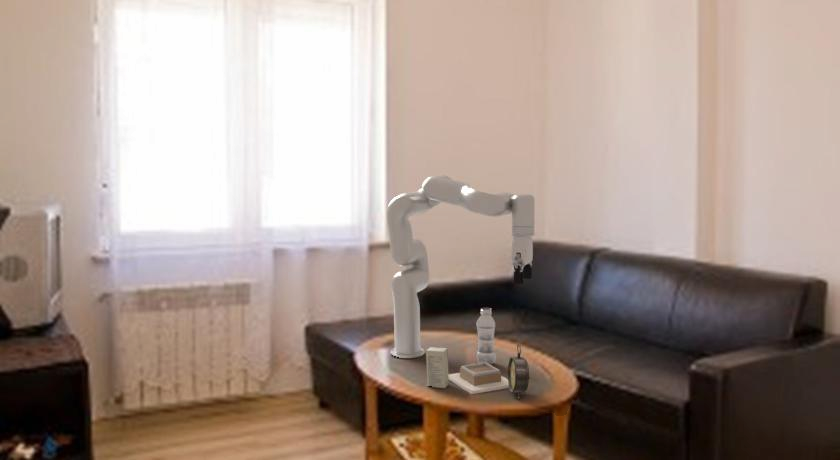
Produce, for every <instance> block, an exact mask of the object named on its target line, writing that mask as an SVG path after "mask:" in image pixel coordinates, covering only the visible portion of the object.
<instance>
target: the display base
mask: <svg viewBox="0 0 840 460" xmlns="http://www.w3.org/2000/svg"><path fill="white" fill-rule="evenodd" d="M448 375H449V381H451V382H452V383H454V384H455V385H457V386H458V387H459V388H461V389H463V390H464V391H465V392H468V393H469V394H470V395H475V394H476V395H477V394H480V393H481V394H482V393H486V392H492V391H493V392H494V391H499V390H505V389H506V390H507V389H509V384H508V378H506V377H505V376H503V375H502V372H501V370H500V369H499V368H497V367H494V365H493V364H492V365H490V364H488V363H486V362H484V363H478V362H477V363H471V364H467V365H465V364H464V365H461V367H460V368H459V372H456V373H448Z"/></svg>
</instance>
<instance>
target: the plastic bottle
mask: <svg viewBox="0 0 840 460" xmlns="http://www.w3.org/2000/svg"><path fill="white" fill-rule="evenodd" d="M479 314H480V316H479V318H478V319H477V320H476V330H477V337H478V338H477V339H478V340H477V341H478V344H477V352H476V361H477V364H478V363H484V362H486V363H488V364H490V365H492V366H493V365H494V364H495V363H496V357H497V356H496V355H497V354H496V351H495V342H494V341H495V340H494V339H495V330H496V322H495V320H494V318H493V316H492V308H490V307H481V308H480V313H479Z"/></svg>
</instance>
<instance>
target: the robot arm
mask: <svg viewBox="0 0 840 460" xmlns="http://www.w3.org/2000/svg"><path fill="white" fill-rule="evenodd" d="M441 203H443V204H447V205H452V206H456V207H459V208H462V209H464V210H466V211H469V212H471V213H473V214H474V213H475V214H479V215H483V216H487V217H493V218H497V217H502V216H506V215H511V236H513V237H512V243H511V259H510V262H511V265H512V266H513V284H517V285H523V284H524V280H525V279H526V280H527V279H528V280H531V279H532V278H533V264H532V262H533V258H534V257H533V256H534V252H533V251H534V247H533V246H534V245H533V237H534V236H535V196H534V194H531V193H530V194H529V193H518V194H515V193H510V192H502V193H500V192H499V193H495V194H493V193H487V192H483V191H480V190H476V189H474V188H473V187H471V185H470V184H469V183H466V182H462V181H459V180H458V181H457V180H453V178H451V177H449V176H448V175H445V174H441V175H433V176H429V177H427V178H426V179H425V180H424V181H423V183H422V186H421V188H420V189H419V190H417V191H410V192H403V193H401V194H399V195H397V196H395V197H394V198H393V199H392V200H391V201H390V202H389V204H388V205H387V207H386V221H387V227H388V228H387V229H388V239H389V246H390V255H391V259H392V262H393V263H394V264H395V265H396V266H398V267H405V269H402V270H399V271H398V272H397V273H395V274H394V275H393V277H392V279H391V282H390V288H391V293H392V300H393V327H394V329H393V330H394V331H393V333H394V334H393V335H394V337H393V338H394V342H393V343H394V348H391V350H390V355H391V354H392V355H393V356H392V355H391V356H392V357H394V356H396V357H395V358H397V357H399V358H398V359H415V358H420V357H423V355H425V349H424V348H422V347H421V311H420V310H421V309H420V301H419V297H418V293H420V292H421V291H423V290H425V289H426V288H427V287H428V286H429V283H430V269H429V268H430V267H429V261H428V251H427V248H426V245H425V243H424V241H422V240H421V239H419V238H417V237H414V236H413V227H412V225H411V222H410V220H409V218H410V217H413V216H417V215H422V214H425V213H427V212H429V211H431V210H432V209H434V208H435V207H437V206H438V205H440V204H441Z"/></svg>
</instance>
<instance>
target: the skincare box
mask: <svg viewBox="0 0 840 460" xmlns="http://www.w3.org/2000/svg"><path fill="white" fill-rule="evenodd" d="M448 353H449V351H448V348H447V347H435V346H430V347H428V348H426V350H425V356H426V357H425V358H426V359H425V360H426V384H427V385H428V386H432V387H431V388H440V389H446V388H447V387H448V385H449V384H450V382H449V381H450V380H449V375H448V374H449V354H448Z"/></svg>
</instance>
